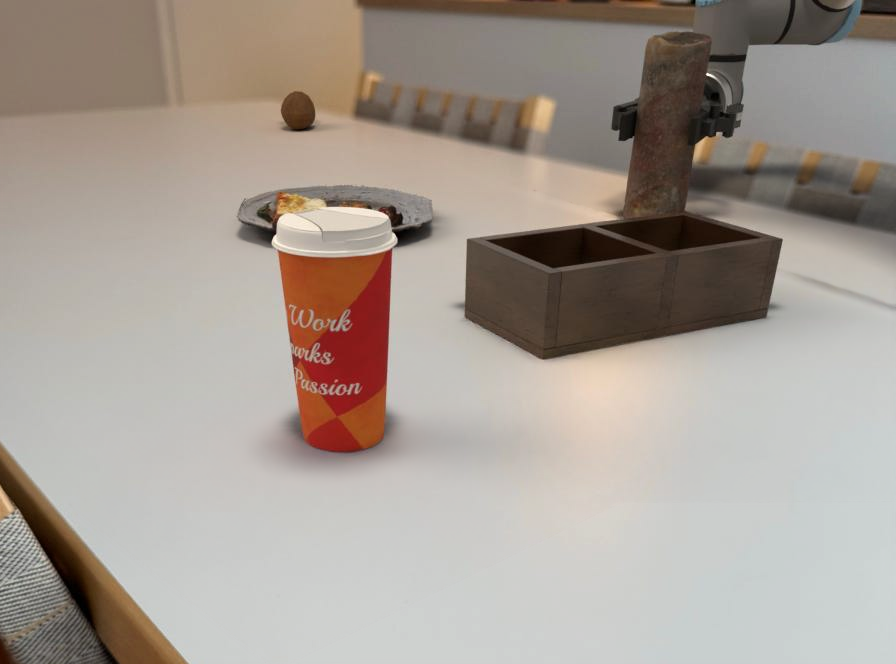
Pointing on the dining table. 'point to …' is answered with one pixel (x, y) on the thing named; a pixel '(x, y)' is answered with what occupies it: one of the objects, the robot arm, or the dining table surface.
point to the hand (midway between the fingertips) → (657, 129)
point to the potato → (298, 110)
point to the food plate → (336, 205)
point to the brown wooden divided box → (618, 281)
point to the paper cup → (338, 321)
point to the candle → (666, 123)
